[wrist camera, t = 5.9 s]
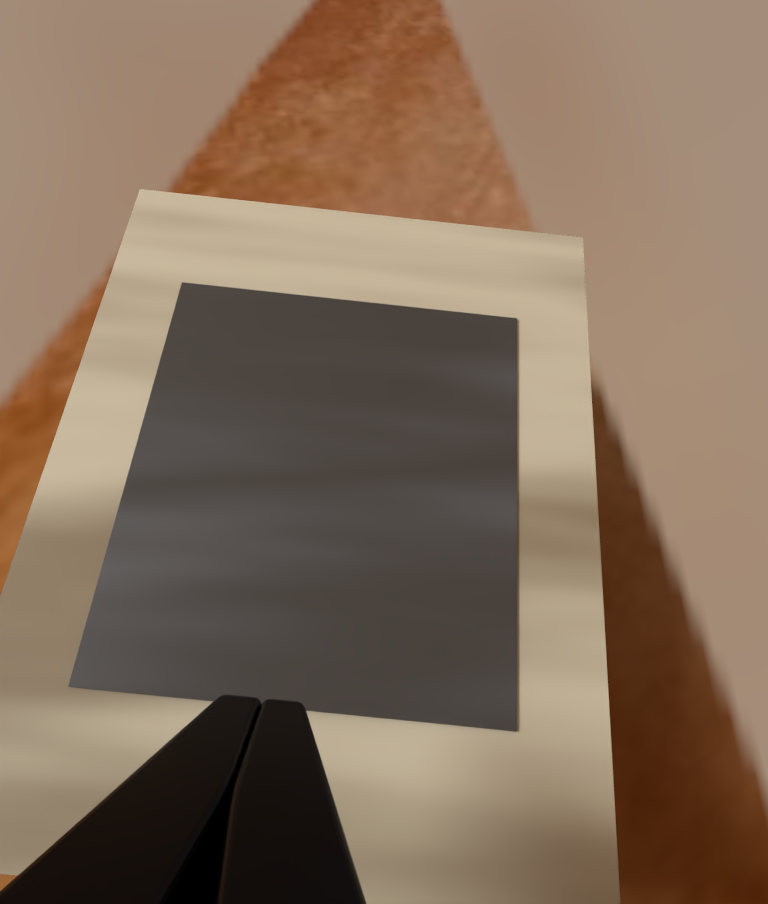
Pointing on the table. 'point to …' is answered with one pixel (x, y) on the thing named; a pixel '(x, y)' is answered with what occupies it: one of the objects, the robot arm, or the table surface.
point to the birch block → (330, 541)
